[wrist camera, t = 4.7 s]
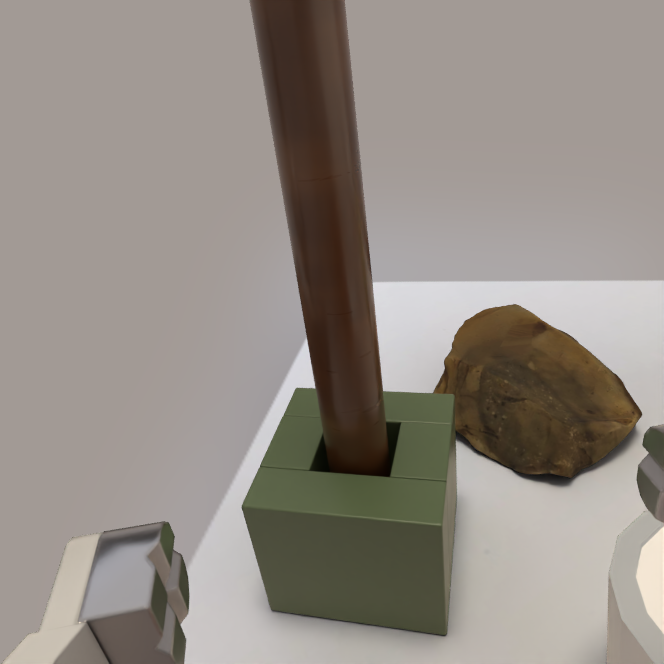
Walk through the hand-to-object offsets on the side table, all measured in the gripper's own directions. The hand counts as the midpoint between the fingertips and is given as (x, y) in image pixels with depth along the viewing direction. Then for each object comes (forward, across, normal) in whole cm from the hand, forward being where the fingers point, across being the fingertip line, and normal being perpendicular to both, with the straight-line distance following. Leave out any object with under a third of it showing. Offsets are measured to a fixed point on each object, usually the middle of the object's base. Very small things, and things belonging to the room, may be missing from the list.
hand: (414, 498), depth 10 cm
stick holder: (+10, 0, +14) cm, 17 cm away
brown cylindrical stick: (+10, 0, +14) cm, 17 cm away
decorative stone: (+17, -10, +14) cm, 24 cm away
